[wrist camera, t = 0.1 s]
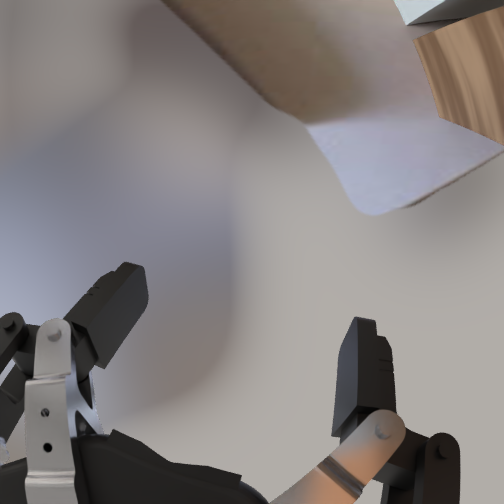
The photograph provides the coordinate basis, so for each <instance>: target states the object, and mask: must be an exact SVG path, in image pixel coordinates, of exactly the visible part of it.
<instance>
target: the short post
mask: <svg viewBox="0 0 504 504" xmlns="http://www.w3.org/2000/svg"><path fill="white" fill-rule="evenodd" d="M394 2H395V3H396V5H397V7H398V9H399V11H400V13H401V15H402V17H403V20H404V22H405V24H406V25H411V24H417V23H424V22H430V21H438V20H447V19H457V18H469V17H472V16H475V15H477V14H480V13H483V12H486V11H490V10H493V9H496V8H499V7H502V6H504V0H394Z"/></svg>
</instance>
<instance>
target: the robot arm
mask: <svg viewBox="0 0 504 504" xmlns="http://www.w3.org/2000/svg"><path fill="white" fill-rule="evenodd" d="M147 304H148V289H147V284H146V276H145V270H144V267H143V266H140V265H136V264H132V263H129V262H124V263H122V264H121V265H120V267H118V269H117V270H116V271H115V272H114V271H111V272H109V273H107V274H105V275H104V276H102V277H100V278H99V279H98V280H97V282H96V283H95V284H94V285H93V287H91V288H90V289H89V290H88V291H87V294H84V296H83V297H82V298H81V299H80V300H79V301H78V302H77V304H75V306H74V307H73V308H72V309H71V310H70V311H69V312H68V313H67V315H66V316H65V317H64V318H63V319H59V318H56V319H51V320H48V321H46V322H45V323H43V324H42V325H41V326H37V325H30V324H26V323H25V321H24V319H23V317H22V316H21V315H20V314H19V313H16V312H12V313H8V314H6V315H4V316H2V317H1V318H0V374H1V373H2V371H3V370H4V368H5V367H6V366H7V364H8V363H9V361H10V360H11V359H13V360H14V362H15V363H16V364H15V365H14V367H13V368H12V370H11V371H10V373H9V374H8V375H7V377H6V378H5V380H4V381H3V383H2V384H1V386H0V504H353V503H354V502H355V501H356V500H357V499H358V498H359V497H360V495H361V494H362V490H363V488H364V487H365V486H366V485H367V483H368V482H369V481H370V480H371V479H373V480H376V481H379V482H381V483H383V490H382V498H381V504H459V501H460V448H459V445H458V442H457V441H456V440H455V438H454V437H453V436H451V435H450V434H447V433H437V434H435V435H433V436H432V437H430V438H428V437H425V436H423V435H420V434H418V433H415V432H413V431H411V430H409V429H407V428H406V427H405V425H404V422H403V420H402V419H401V418H400V417H399V416H398V415H397V412H396V396H395V381H394V373H393V371H394V368H393V363H392V361H393V358H392V349H391V347H390V345H389V343H388V341H387V340H386V337H383V336H378V335H377V329H376V322H375V320H371V319H366V318H361V317H354V319H353V321H352V323H351V325H350V327H349V329H348V332H347V334H346V336H345V338H344V340H343V343H342V345H341V348H340V351H339V357H338V369H337V383H336V395H335V407H334V418H333V426H332V435H331V436H333V437H340V445H339V446H338V447H337V448H336V449H335V450H334V451H333V452H332V453H331V454H330V455H329V456H328V457H327V458H325V459H324V460H323V461H322V462H321V463H319V464H318V465H317V466H316V467H315V468H314V469H312V470H311V471H310V472H309V473H308V474H307V475H305V476H304V477H303V478H302V479H301V480H299V481H298V482H297V483H296V484H294V485H293V486H292V487H290V488H289V489H288V490H287V491H285V492H284V493H283V494H281V495H280V496H278V497H277V498H276V499H274V500H273V501H272V502H270V503H268V502H267V500H266V499H265V498H264V497H263V496H262V495H261V494H260V493H259V492H258V491H257V490H255V489H254V488H252V487H251V486H249V485H248V484H246V483H244V482H242V481H240V480H241V477H242V475H239V474H235V473H231V472H227V471H223V470H220V469H216V468H212V467H209V466H202V465H201V466H200V465H190V464H181V463H173V462H170V461H168V460H166V459H165V458H163V457H162V456H160V455H159V454H157V453H156V452H155V451H153V450H152V449H150V448H149V447H148V446H146V445H145V444H143V443H142V442H141V441H138V440H136V439H134V438H131V437H129V436H127V435H125V434H122V433H120V432H119V431H116V430H114V429H113V430H112V432H111V434H110V435H107V434H104V431H103V428H102V425H101V422H100V420H99V417H98V414H97V408H96V401H95V393H94V385H93V376H92V371H91V369H92V368H93V367H94V365H96V366H98V367H100V368H103V369H105V368H106V366H107V365H108V363H109V362H110V360H111V359H112V357H113V356H114V354H115V353H116V351H117V350H118V348H119V347H120V345H121V344H122V342H123V341H124V339H125V338H126V337H127V335H128V334H129V332H130V331H131V329H132V328H133V326H134V325H135V323H136V322H137V321H138V319H139V318H140V316H141V315H142V313H143V312H144V311H145V309H146V307H147ZM24 410H25V440H26V455H27V457H26V458H23V459H20V460H17V461H14V462H10V463H8V464H4V462H7V461H8V460H9V452H8V451H7V450H6V442H7V440H8V439H9V437H10V435H11V433H12V431H13V430H14V428H15V426H16V424H17V423H18V421H19V419H20V417H21V416H22V414H23V412H24Z"/></svg>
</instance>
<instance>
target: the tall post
mask: <svg viewBox="0 0 504 504" xmlns="http://www.w3.org/2000/svg"><path fill="white" fill-rule="evenodd" d="M413 42H414V44H415V47H416V49H417V51H418V54H419V57H420V59H421V62H422V64H423V67H424V70H425V73H426V75H427V78H428V81H429V84H430V87H431V90H432V93H433V96H434V100H435V103H436V106H437V110H438V113H439V117H440V118H443V119H445V120H448V121H451V122H453V123H456V124H458V125H460V126H463V127H465V128H467V129H470V130H472V131H474V132H477V133H479V134H481V135H483V136H485V137H487V138H489V139H492V140H494V141H496V142H498V143H500V144H502V145H504V6H502V7H499V8H496V9H493V10H490V11H486V12H483V13H480V14H477V15H475V16H472V17H469V18H466V19H463V20H461V21H458V22H455V23H453V24H450V25H448V26H445V27H443V28H440V29H438V30H435V31H433V32H431V33H428V34H426V35H424V36H421V37H419V38H417V39H414V40H413Z"/></svg>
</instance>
